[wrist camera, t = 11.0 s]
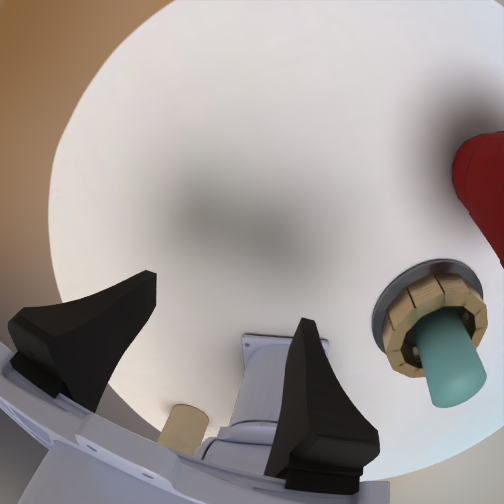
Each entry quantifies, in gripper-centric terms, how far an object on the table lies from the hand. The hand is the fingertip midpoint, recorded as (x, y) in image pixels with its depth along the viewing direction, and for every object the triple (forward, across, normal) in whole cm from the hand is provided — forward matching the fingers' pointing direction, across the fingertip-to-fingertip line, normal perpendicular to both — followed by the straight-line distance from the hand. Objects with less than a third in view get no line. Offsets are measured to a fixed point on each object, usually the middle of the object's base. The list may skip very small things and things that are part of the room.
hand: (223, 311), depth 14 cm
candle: (+10, +3, +30) cm, 32 cm away
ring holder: (+9, -16, +3) cm, 19 cm away
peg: (+9, -16, +3) cm, 19 cm away
